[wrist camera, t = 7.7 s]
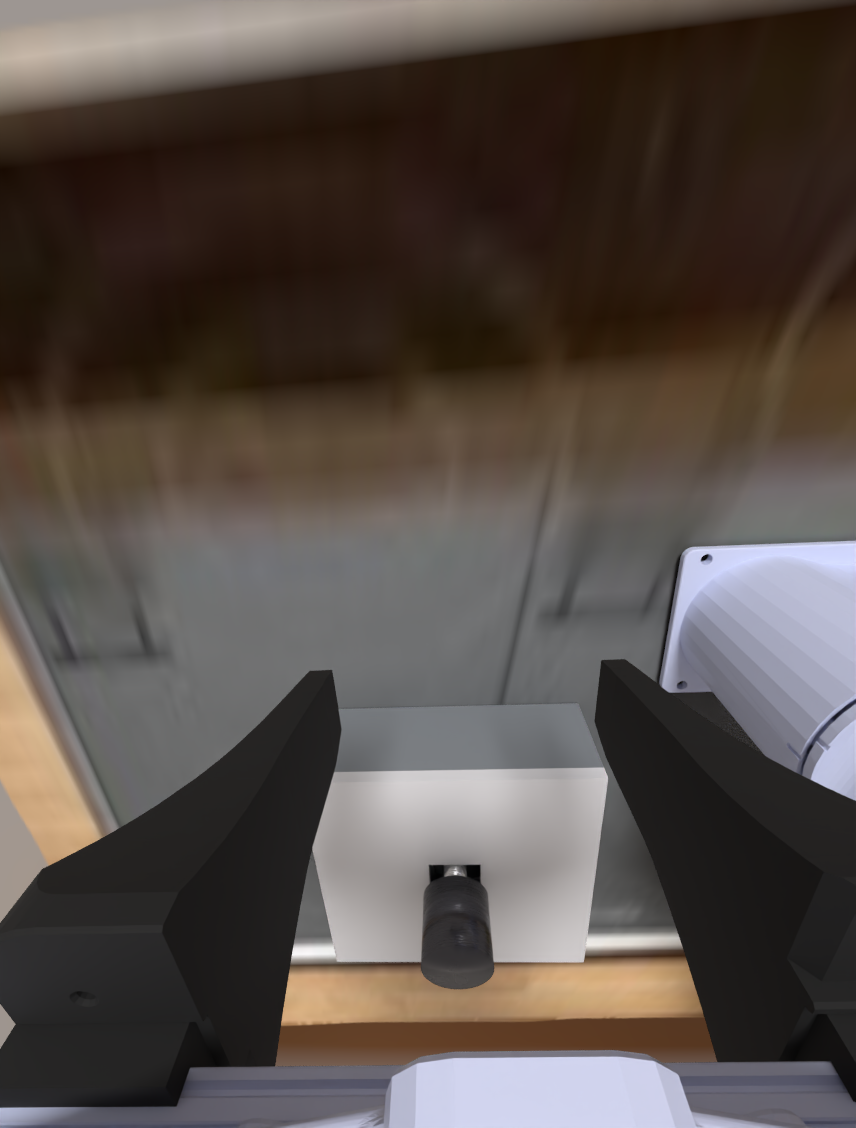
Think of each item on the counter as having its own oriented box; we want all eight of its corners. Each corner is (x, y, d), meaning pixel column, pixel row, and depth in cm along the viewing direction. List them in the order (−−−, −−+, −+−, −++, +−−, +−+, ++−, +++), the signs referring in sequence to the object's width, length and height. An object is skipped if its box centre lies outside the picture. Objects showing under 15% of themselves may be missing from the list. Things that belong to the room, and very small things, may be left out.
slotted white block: (578, 703, 25) (608, 778, 21) (562, 873, 31) (583, 962, 26) (323, 709, 26) (297, 783, 22) (352, 874, 32) (337, 961, 27)
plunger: (552, 736, 25) (596, 886, 18) (543, 871, 30) (575, 1035, 22) (350, 740, 26) (314, 887, 19) (370, 872, 30) (347, 1033, 23)
